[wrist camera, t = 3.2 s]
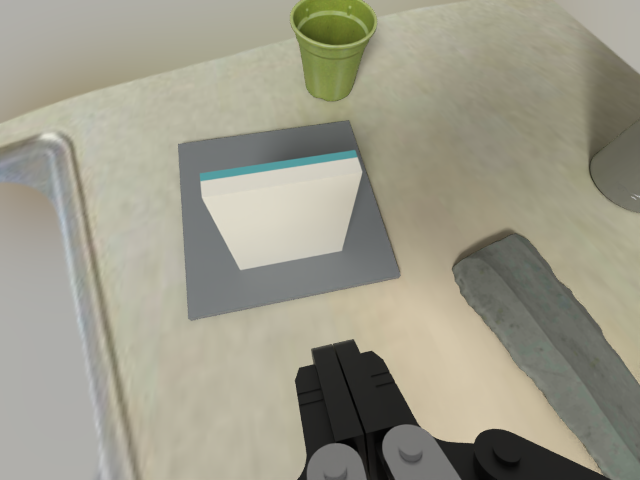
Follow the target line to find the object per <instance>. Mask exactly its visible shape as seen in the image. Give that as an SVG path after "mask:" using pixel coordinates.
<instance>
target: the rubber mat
mask: <svg viewBox="0 0 640 480" xmlns="http://www.w3.org/2000/svg"><path fill="white" fill-rule="evenodd" d="M352 150H355V151H356V154H357V157H358V160H359V163H360V166H361V169H362V176H361V180H360V183H359V187H358V191H357V195H356V199H355V202H354V206H353V210H352V214H351V218H350V221H349V225H348V229H347V233H346V237H345V240H344V244H343V248H342V251H339V252H333V253H328V254H323V255H317V256H312V257H307V258H302V259H296V260H291V261H286V262H281V263H275V264H270V265H265V266H260V267H254V268H249V269H244V270H240V269H239V267H238V265H237V263H236V261H235V259H234V258H233V256H232V254H231V252H230V250H229V248H228V246H227V244H226V242H225V241H224V239H223V237H222V235H221V233H220V231H219V229H218V227H217V225H216V224H215V222H214V220H213V218H212V216H211V214H210V212H209V210H208V209H207V207H206V205H205V203H204V201H203V199H202V194H201V182H200V173H206V172H213V171H219V170H226V169H232V168H239V167H246V166H252V165H259V164H266V163H272V162H279V161H285V160H292V159H299V158H305V157H312V156H319V155H325V154H332V153H338V152H345V151H352ZM178 152H179V169H180V185H181V202H182V219H183V236H184V253H185V269H186V286H187V303H188V319H190V320H196V319H201V318H206V317H211V316H216V315H221V314H226V313H230V312H235V311H240V310H245V309H250V308H255V307H260V306H265V305H269V304H274V303H279V302H284V301H289V300H294V299H299V298H304V297H308V296H313V295H318V294H323V293H328V292H333V291H338V290H343V289H347V288H352V287H357V286H362V285H367V284H372V283H377V282H382V281H386V280H391V279H396V278H399V277H400V276H401V275H400V272H399V269H398V266H397V263H396V260H395V257H394V254H393V251H392V248H391V245H390V242H389V239H388V236H387V233H386V230H385V227H384V224H383V221H382V218H381V215H380V212H379V209H378V206H377V203H376V200H375V197H374V194H373V191H372V188H371V185H370V182H369V179H368V176H367V173H366V170H365V167H364V164H363V161H362V158H361V155H360V152H359V149H358V146H357V143H356V140H355V137H354V134H353V131H352V128H351V125H350V122H349V120H348V121H341V122H334V123H326V124H319V125H312V126H305V127H298V128H290V129H283V130H276V131H269V132H262V133H254V134H247V135H240V136H233V137H226V138H218V139H211V140H204V141H197V142H190V143H182V144H178Z"/></svg>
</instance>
